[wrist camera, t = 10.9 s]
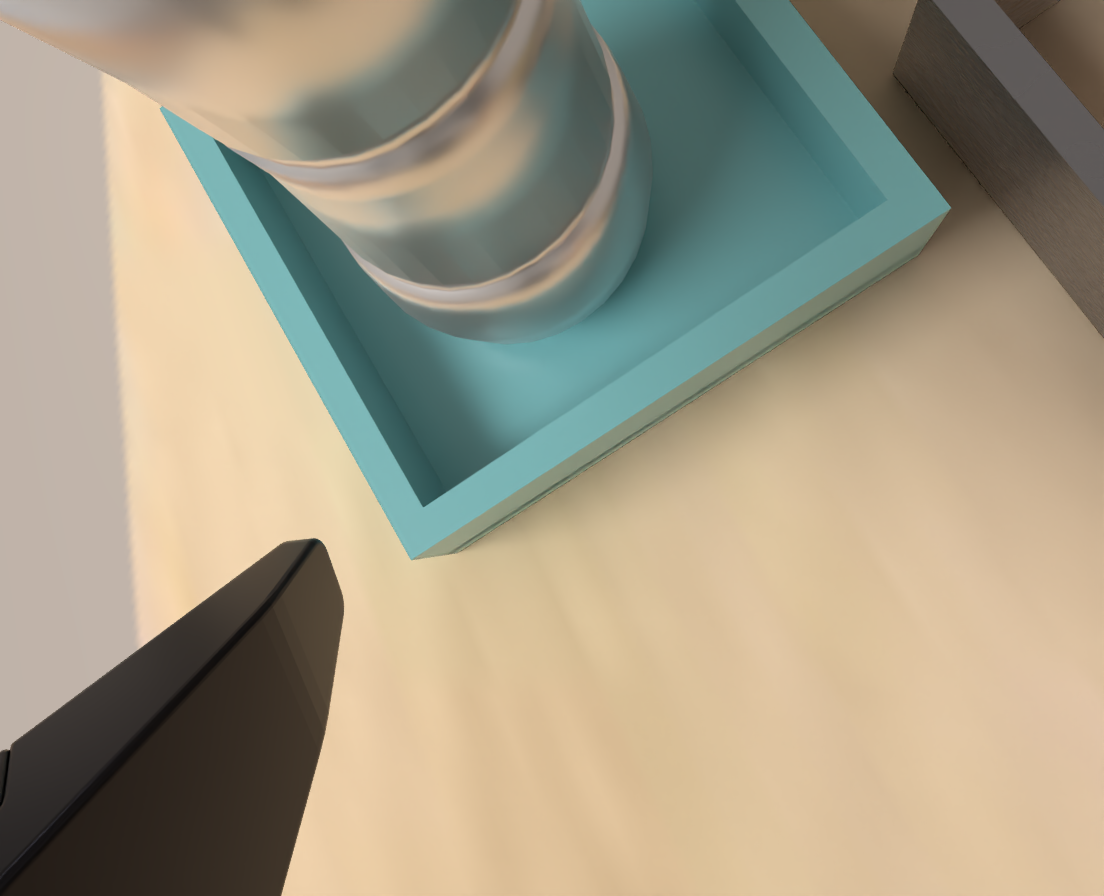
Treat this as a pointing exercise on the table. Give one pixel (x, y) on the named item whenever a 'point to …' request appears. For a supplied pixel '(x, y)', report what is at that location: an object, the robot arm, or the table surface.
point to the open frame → (1015, 131)
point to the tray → (642, 297)
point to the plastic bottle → (409, 136)
